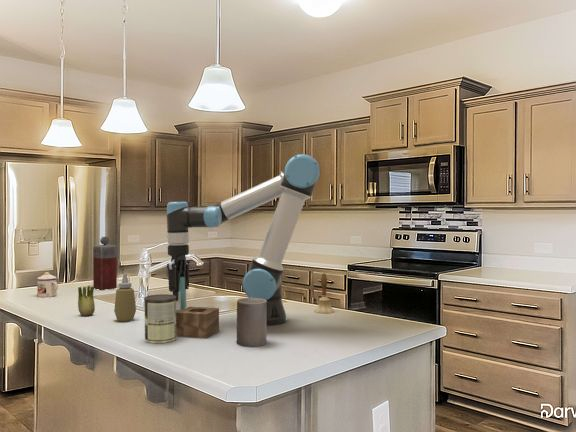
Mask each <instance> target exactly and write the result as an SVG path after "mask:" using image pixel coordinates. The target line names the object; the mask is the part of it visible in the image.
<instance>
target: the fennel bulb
mask: <svg viewBox="0 0 576 432" xmlns="http://www.w3.org/2000/svg"><path fill="white" fill-rule="evenodd" d="M77 290H78V291H77V292H78V299H77V307H78V312H79V315H81V316H83V317H90V316H92V315H93V314H94V313H95V311H96V310H95V309H96V307H95V306H96V305H95V300H94V299H95V298H94V290H95V289H94V287H93V285H92V286H90V285H87V286H86V285H84V286H83V287H82V286H78V289H77Z"/></svg>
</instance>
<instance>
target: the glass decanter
mask: <svg viewBox="0 0 576 432" xmlns="http://www.w3.org/2000/svg"><path fill="white" fill-rule="evenodd" d="M99 240H100V244H96V245H93V248H92V252H93V253H92V255H93V260H92V261H93V262H92V264H93V265H92V266H93V267H92V268H93V269H92V270H93V276H92V277H93V281H92V284H93V285H92V286H93V287H94V288H95V289H94V290H97V289H99V290H98V291H106V290H105V289H109V290H115V289H114V288H117V289H118V287H117V285H118V283H117V282H118V281H117V279H118V278H117V277H118V275H117V273H118V272H117V268H118V267H117V263H118V261H117V257H118V256H117V254H118V253H117V252H118V251H117V249H118V248H117V245H115V244H109V243H110V238H109V237H108V236H102V237H101V238H100V239H99Z"/></svg>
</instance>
